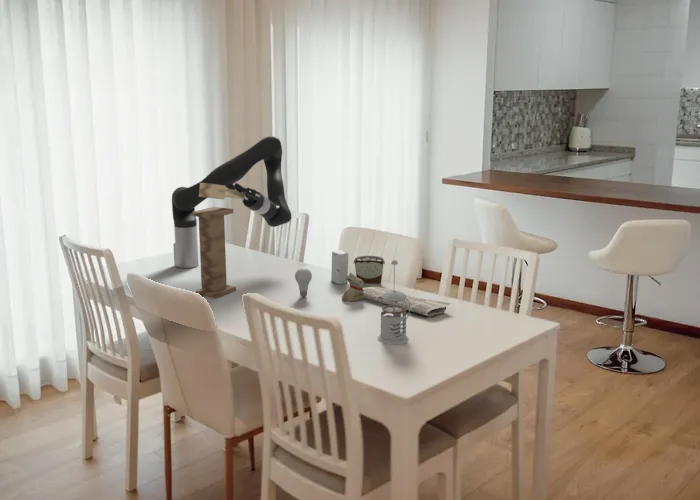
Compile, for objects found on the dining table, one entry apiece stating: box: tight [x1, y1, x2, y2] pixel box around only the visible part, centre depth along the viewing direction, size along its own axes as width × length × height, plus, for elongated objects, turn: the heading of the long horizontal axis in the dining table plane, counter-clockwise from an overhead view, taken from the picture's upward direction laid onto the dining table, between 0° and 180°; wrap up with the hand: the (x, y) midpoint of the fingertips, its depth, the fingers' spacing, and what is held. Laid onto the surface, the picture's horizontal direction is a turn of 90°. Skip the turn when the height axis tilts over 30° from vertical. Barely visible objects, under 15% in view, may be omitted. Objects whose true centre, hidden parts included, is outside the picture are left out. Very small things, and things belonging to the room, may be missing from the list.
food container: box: [353, 255, 386, 285], centre depth 288 cm, size 12×6×10 cm, turn 84°
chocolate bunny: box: [341, 272, 365, 302], centre depth 264 cm, size 6×8×10 cm
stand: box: [192, 206, 237, 299], centre depth 271 cm, size 9×12×31 cm
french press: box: [377, 259, 411, 345], centre depth 225 cm, size 10×12×25 cm
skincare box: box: [330, 249, 349, 285], centre depth 288 cm, size 6×4×12 cm
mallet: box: [199, 183, 245, 200], centre depth 272 cm, size 6×20×5 cm, turn 150°
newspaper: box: [362, 286, 452, 317], centre depth 261 cm, size 35×12×4 cm, turn 45°
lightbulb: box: [294, 267, 313, 298], centre depth 268 cm, size 6×6×11 cm
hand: (231, 185), depth 275 cm, fingers closed on mallet, 3 cm apart
